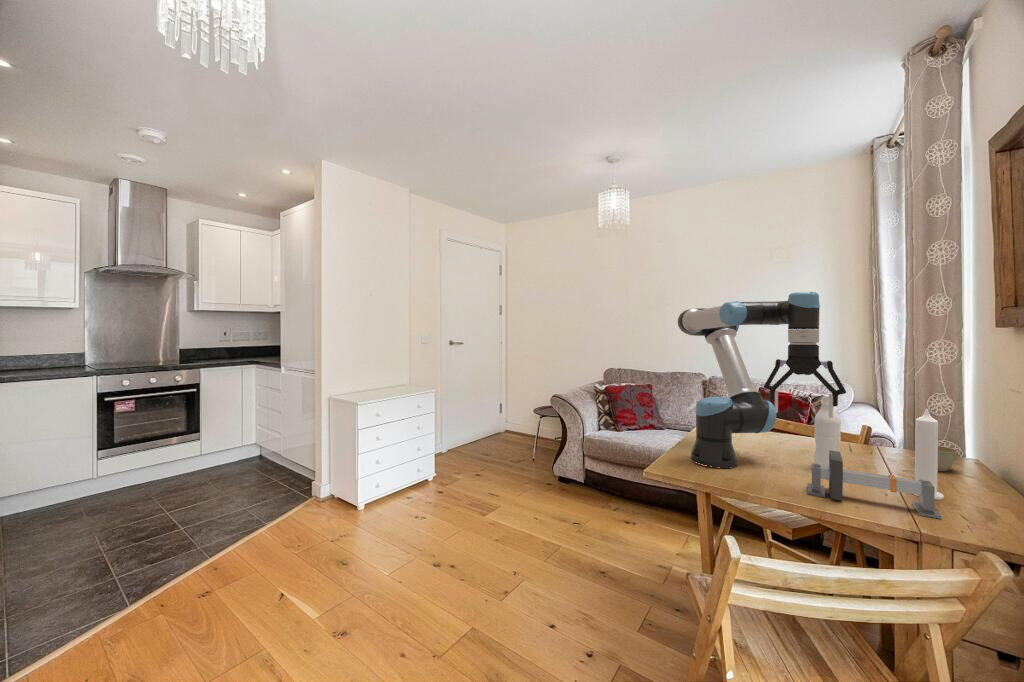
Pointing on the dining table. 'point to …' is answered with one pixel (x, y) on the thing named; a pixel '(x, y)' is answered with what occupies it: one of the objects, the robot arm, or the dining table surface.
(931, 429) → the candle
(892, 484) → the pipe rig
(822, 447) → the water bottle
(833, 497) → the collar
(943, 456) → the flower pot
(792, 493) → the dining table surface
